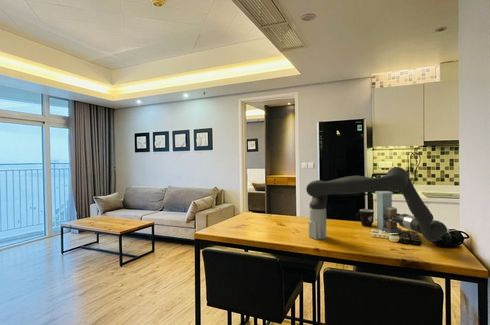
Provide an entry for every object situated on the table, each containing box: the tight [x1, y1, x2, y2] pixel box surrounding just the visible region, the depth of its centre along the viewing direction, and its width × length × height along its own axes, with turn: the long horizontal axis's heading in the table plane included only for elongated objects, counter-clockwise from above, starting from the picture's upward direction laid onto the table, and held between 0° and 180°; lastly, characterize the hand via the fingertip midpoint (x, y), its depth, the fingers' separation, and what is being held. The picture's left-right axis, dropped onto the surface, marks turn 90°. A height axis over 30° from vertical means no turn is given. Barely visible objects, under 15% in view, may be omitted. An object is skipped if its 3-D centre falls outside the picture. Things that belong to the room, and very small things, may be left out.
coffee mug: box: [355, 208, 375, 228], centre depth 177 cm, size 12×9×10 cm
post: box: [374, 191, 394, 231], centre depth 166 cm, size 7×7×24 cm
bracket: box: [381, 226, 403, 234], centre depth 160 cm, size 8×7×3 cm
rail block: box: [386, 206, 398, 229], centre depth 160 cm, size 4×4×15 cm
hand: (390, 215), depth 161 cm, fingers open, 8 cm apart
